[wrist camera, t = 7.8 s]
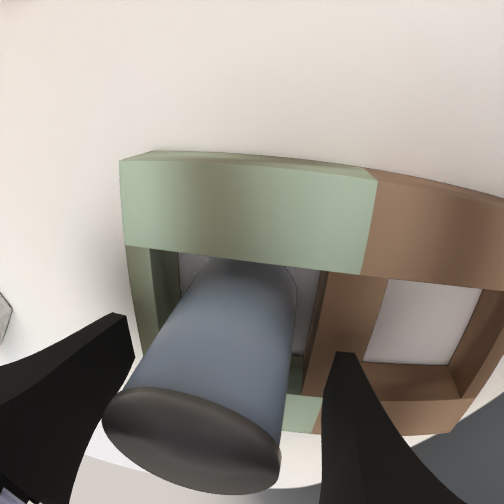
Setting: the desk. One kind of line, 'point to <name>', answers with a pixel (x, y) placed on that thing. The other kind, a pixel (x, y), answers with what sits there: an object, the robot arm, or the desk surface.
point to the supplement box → (4, 316)
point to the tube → (213, 383)
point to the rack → (325, 263)
